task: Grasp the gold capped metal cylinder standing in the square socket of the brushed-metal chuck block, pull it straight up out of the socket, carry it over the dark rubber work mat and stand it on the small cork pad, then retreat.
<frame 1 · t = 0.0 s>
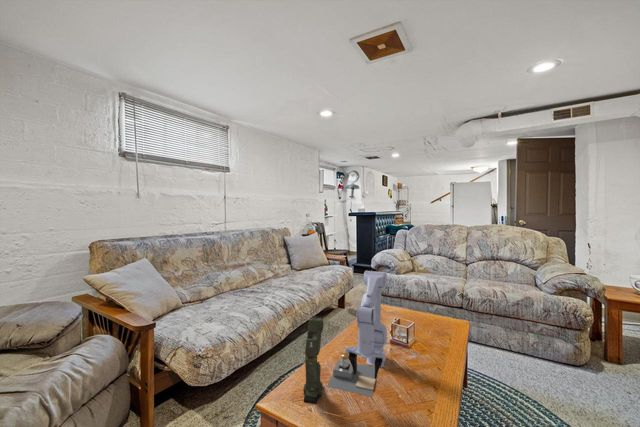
hand: (365, 375, 102), 10 cm above the table, fingers open, 7 cm apart
mechanical leg: (313, 393, 107), on the table
cork pad: (365, 383, 112), resting on work mat
chuck block: (344, 369, 119), on the work mat
work mat: (354, 377, 117), on the table
gold capped metal cylinder: (344, 364, 119), in the chuck block, touching work mat
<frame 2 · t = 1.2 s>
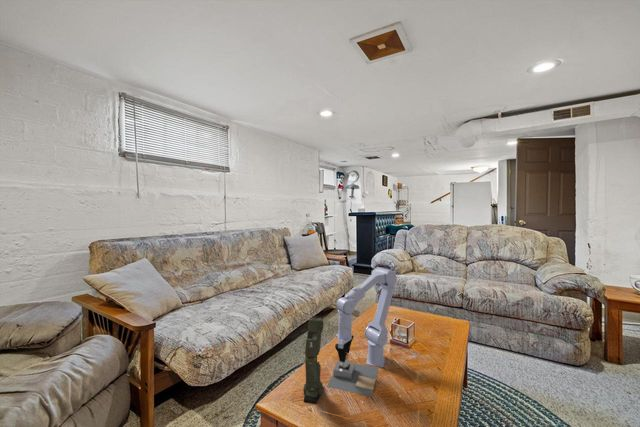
hand: (344, 356, 119), 8 cm above the table, fingers open, 7 cm apart
nothing on the table moved.
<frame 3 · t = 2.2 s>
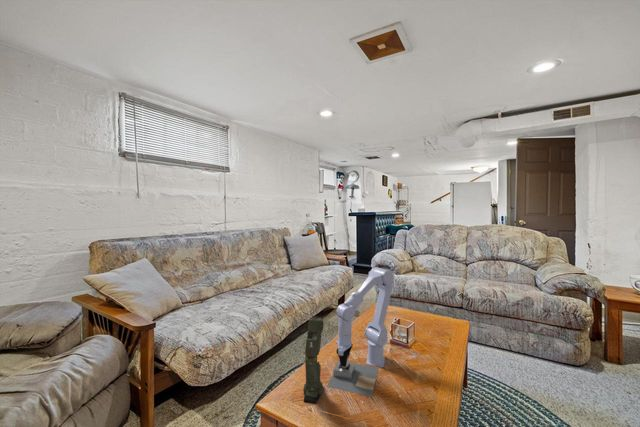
hand: (344, 363, 119), 5 cm above the table, fingers closed on gold capped metal cylinder, 3 cm apart
gold capped metal cylinder: (344, 364, 119), in the chuck block, touching gripper, work mat
everything else where it was.
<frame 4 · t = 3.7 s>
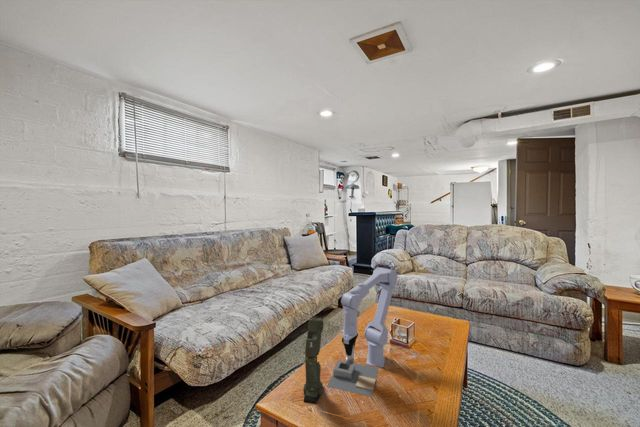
hand: (350, 352, 117), 10 cm above the table, fingers closed on gold capped metal cylinder, 3 cm apart
gold capped metal cylinder: (349, 353, 117), point 10 cm above the table, touching gripper
everything else where it was.
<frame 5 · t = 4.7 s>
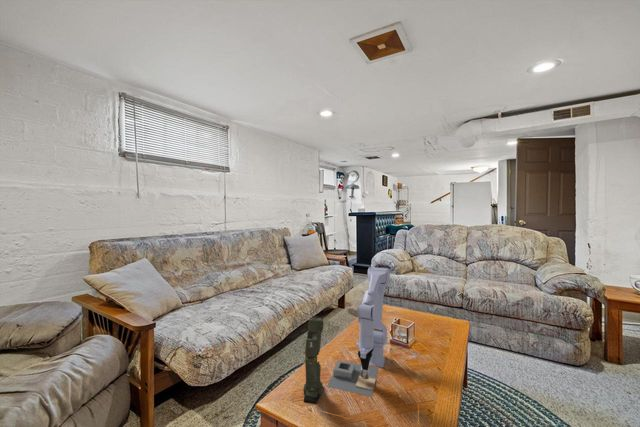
hand: (365, 366, 112), 7 cm above the table, fingers closed on gold capped metal cylinder, 3 cm apart
gold capped metal cylinder: (365, 367, 112), point 7 cm above the table, touching gripper
everything else where it was.
when the fingers open (6 cm above the table, at t = 5.3 s): gold capped metal cylinder moves 1 cm, resting on cork pad.
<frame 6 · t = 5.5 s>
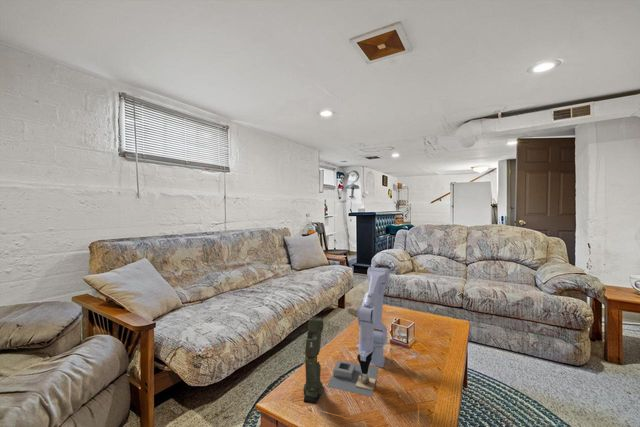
hand: (365, 369, 112), 6 cm above the table, fingers open, 5 cm apart
gold capped metal cylinder: (365, 372, 112), on the cork pad, point 5 cm above the table
everything else where it was.
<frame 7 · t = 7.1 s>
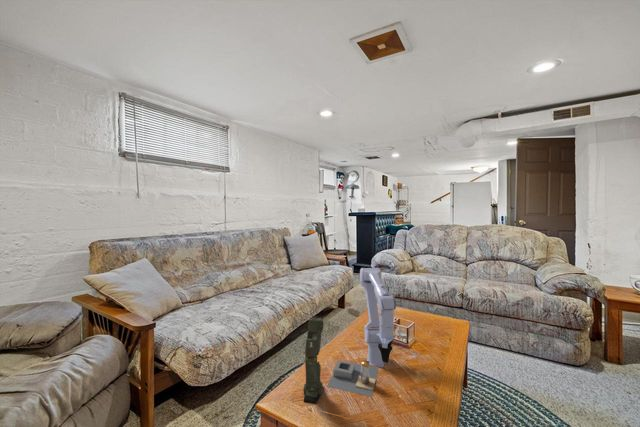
hand: (386, 357, 114), 10 cm above the table, fingers open, 7 cm apart
nothing on the table moved.
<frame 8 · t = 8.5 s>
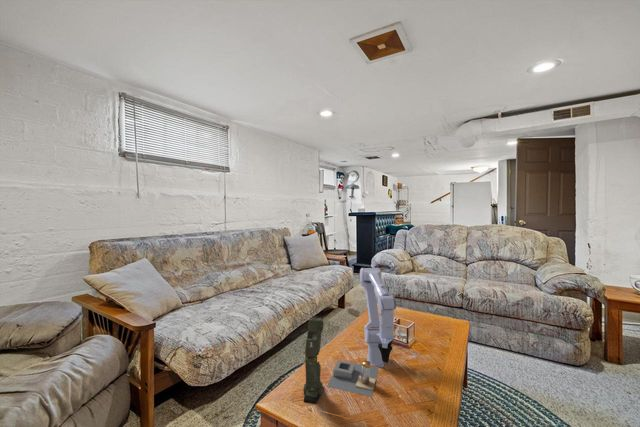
hand: (386, 357, 114), 10 cm above the table, fingers open, 7 cm apart
nothing on the table moved.
at the end: gold capped metal cylinder inside the target area on the cork pad (0.3 cm from its centre), point 4.7 cm above the cork pad's base; gold capped metal cylinder tilted 3°; the gripper is holding nothing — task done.
